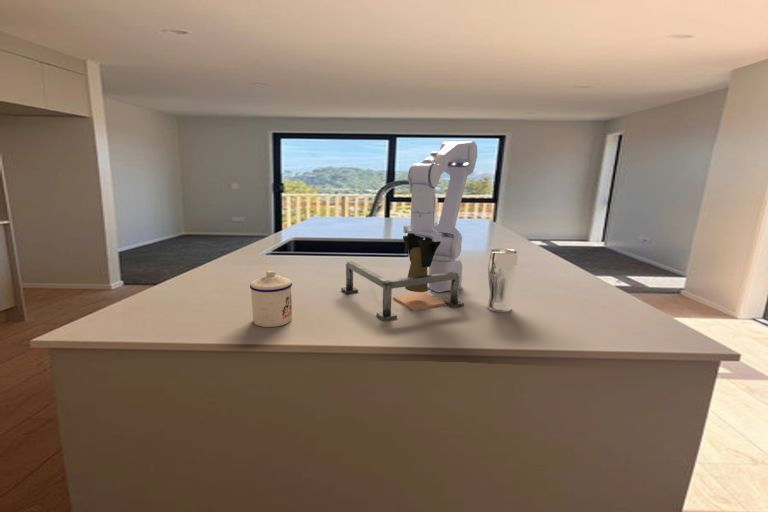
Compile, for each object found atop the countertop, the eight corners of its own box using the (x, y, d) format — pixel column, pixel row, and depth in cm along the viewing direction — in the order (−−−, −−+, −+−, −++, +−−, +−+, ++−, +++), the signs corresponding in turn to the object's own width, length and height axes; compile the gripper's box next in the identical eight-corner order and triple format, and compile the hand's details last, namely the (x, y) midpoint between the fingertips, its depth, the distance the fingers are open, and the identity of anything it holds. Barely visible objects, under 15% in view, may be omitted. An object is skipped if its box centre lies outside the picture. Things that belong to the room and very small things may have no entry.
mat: (423, 294, 111) (423, 291, 111) (445, 304, 103) (445, 302, 102) (393, 298, 106) (393, 296, 106) (412, 310, 98) (413, 308, 98)
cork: (425, 293, 99) (430, 250, 98) (402, 289, 101) (406, 247, 99) (429, 288, 105) (434, 247, 103) (407, 284, 107) (411, 245, 105)
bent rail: (410, 280, 124) (411, 253, 122) (463, 306, 102) (465, 273, 100) (341, 290, 113) (341, 260, 111) (383, 321, 91) (384, 284, 89)
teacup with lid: (291, 327, 86) (290, 276, 84) (248, 329, 85) (245, 277, 82) (295, 308, 98) (293, 263, 95) (257, 309, 96) (254, 263, 94)
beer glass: (498, 314, 96) (503, 255, 93) (479, 305, 102) (483, 249, 99) (519, 310, 99) (524, 252, 96) (499, 302, 105) (504, 247, 102)
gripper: (394, 209, 104) (393, 259, 107) (425, 216, 91) (423, 272, 94) (416, 209, 107) (414, 257, 110) (449, 214, 94) (446, 269, 97)
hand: (420, 264), depth 102 cm, fingers closed on cork, 5 cm apart
